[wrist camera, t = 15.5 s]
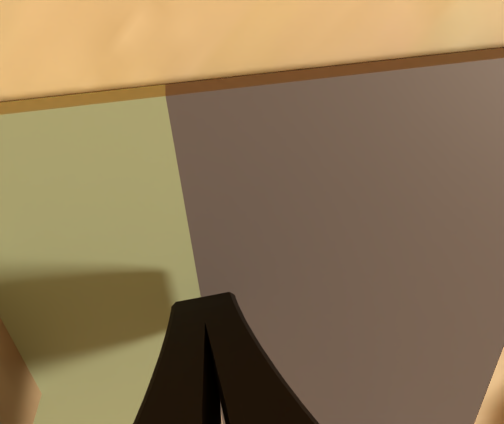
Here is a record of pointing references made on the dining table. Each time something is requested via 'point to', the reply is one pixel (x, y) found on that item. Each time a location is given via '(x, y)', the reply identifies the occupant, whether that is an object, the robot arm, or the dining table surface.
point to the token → (15, 384)
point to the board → (265, 233)
